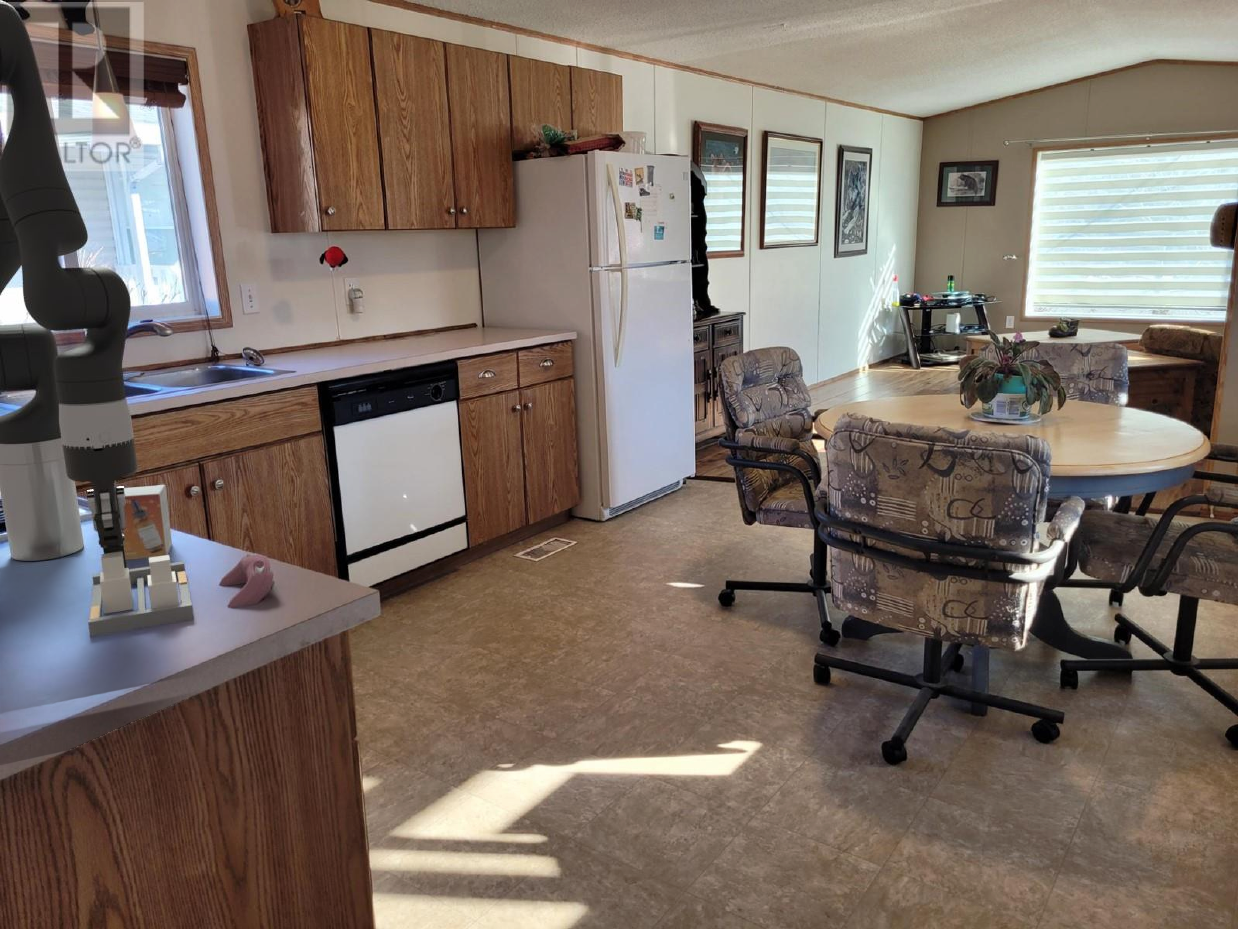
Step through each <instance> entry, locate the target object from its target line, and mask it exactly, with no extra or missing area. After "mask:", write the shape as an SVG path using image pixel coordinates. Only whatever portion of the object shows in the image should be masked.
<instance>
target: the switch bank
mask: <svg viewBox="0 0 1238 929" xmlns="http://www.w3.org/2000/svg"><path fill="white" fill-rule="evenodd" d="M170 564H171V572H173V571H175V575H176V579H177V582H178V589H179V595H180V602H181V603H179V604H178V605H172V606H165V607H159V608H153V609H151V608H148V609H147V608H146V594H145V593H146V591H145V583H148V577H147V575H151V573H150V566H143V567H136V568H130V569H129V575H130V582H131V585H137V610H136V611H130V612H122V613H118V614H113V615H106V616H102V615H103V600H102V593H101V586H100V575H101V573H96V574H92V582H93V584H92V594H91V604H90V605H91V606H90V613H89V614H90V615H89V616H90V617H89V619H88V620H87V624H88V632H89V636H90V637H97V636H103V635H108V634H109V635H110V634H114V633H115V634H116V633H121V632H126V631H131V630H132V631H133V630H139V629H144V628H149V627H150V628H151V627H154V626H162V625H167V624H172V623H179V622H184V621H189V620H194V619H195V617H194V610H193V603H192V602H193V601H192V599H191V595H190V588H189V583H188V578H187V573H186V566H185V561H178V562H170Z"/></svg>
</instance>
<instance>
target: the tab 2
mask: <svg viewBox="0 0 1238 929" xmlns="http://www.w3.org/2000/svg"><path fill="white" fill-rule="evenodd" d="M170 563H171V558H170V554H167V555H164V556H157V557H149V558H148V564H149V566H150V573H151V575H147V577H148V582H147V587H148V589H147V590H148V595H149V603H150V609H153V608H159V607H165V606H172V605H178V604H180V599H179V598H180V597H179V591H178V584H177V582H178V581H177V578H176V575H175V571H173V572H171V564H170ZM149 566H148V567H149Z"/></svg>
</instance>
